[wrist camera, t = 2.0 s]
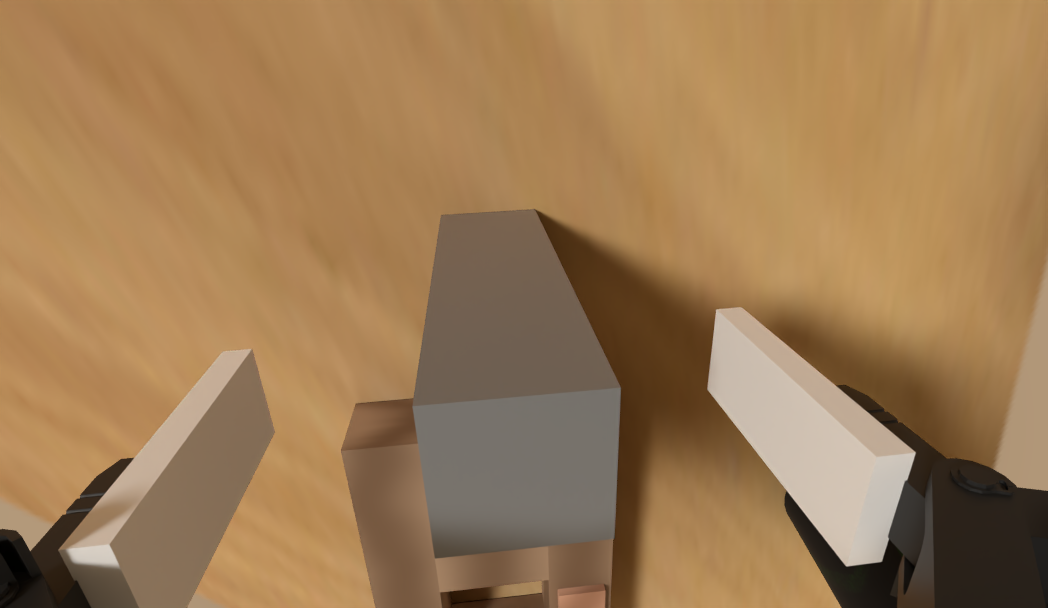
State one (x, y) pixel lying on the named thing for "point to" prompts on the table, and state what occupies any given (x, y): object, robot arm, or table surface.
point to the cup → (849, 567)
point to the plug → (512, 395)
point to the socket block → (406, 543)
